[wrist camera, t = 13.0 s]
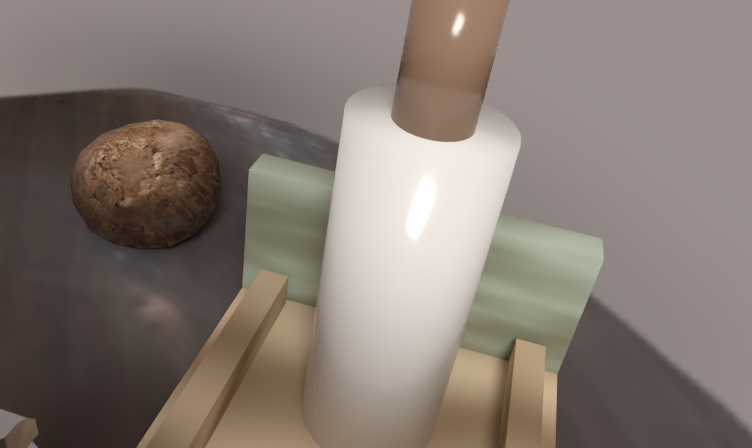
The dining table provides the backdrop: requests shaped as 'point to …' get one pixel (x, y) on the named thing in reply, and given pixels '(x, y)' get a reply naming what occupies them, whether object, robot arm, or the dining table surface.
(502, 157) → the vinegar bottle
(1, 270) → the dining table surface
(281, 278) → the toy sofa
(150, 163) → the mushroom
